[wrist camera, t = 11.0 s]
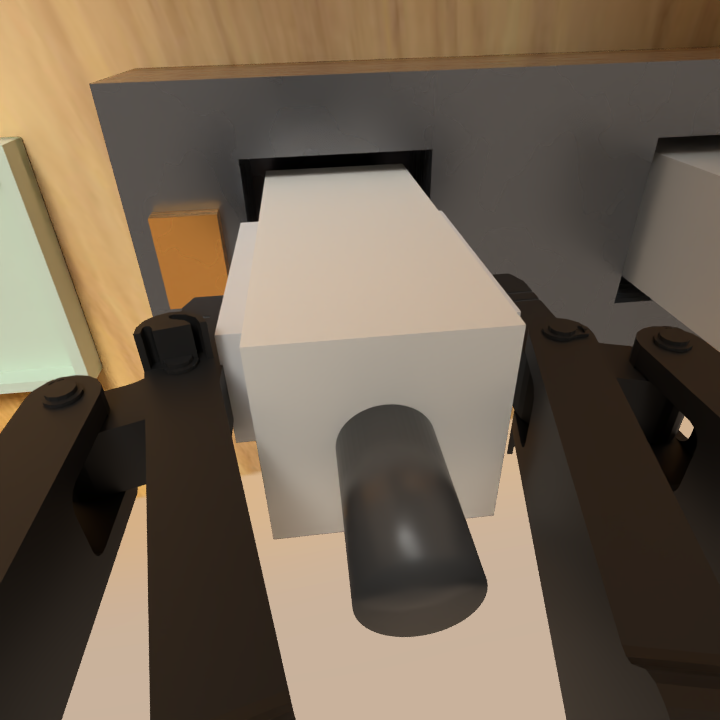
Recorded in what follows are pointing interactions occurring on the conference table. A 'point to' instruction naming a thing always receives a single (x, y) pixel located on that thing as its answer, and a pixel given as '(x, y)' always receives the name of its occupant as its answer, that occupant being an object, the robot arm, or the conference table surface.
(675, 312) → the twin plug
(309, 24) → the conference table surface
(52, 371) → the tray
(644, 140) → the power strip
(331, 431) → the plug
